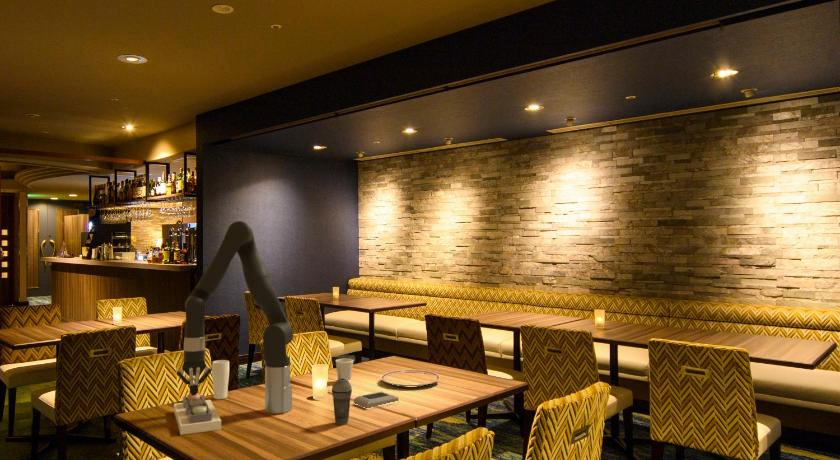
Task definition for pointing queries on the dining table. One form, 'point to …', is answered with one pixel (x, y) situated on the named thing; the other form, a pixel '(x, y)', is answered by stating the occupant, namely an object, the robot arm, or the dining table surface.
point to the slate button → (196, 402)
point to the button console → (196, 418)
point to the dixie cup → (344, 368)
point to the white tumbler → (220, 378)
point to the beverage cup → (341, 399)
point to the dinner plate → (410, 372)
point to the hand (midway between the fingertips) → (193, 394)
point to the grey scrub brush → (374, 399)
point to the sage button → (199, 410)
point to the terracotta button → (193, 397)
